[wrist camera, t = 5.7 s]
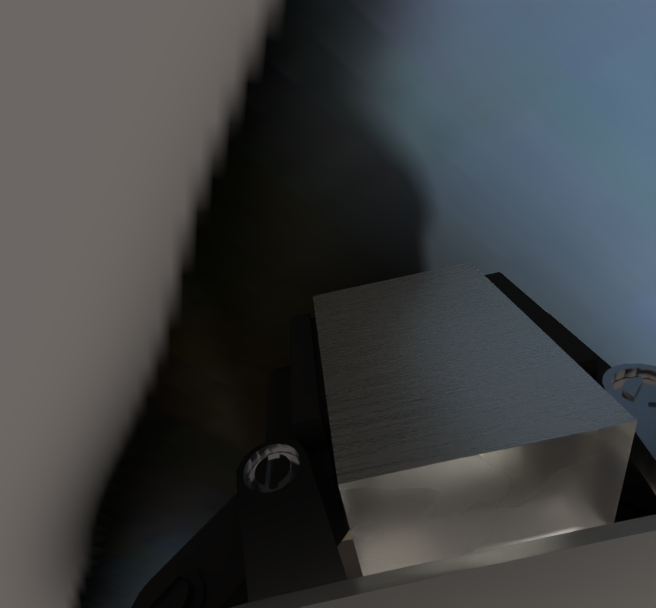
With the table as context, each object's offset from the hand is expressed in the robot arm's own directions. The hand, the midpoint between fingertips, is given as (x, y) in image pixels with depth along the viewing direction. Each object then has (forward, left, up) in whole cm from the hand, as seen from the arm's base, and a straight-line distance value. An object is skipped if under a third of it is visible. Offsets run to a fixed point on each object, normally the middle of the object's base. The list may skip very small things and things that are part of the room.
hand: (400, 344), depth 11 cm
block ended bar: (0, +10, 0) cm, 10 cm away
